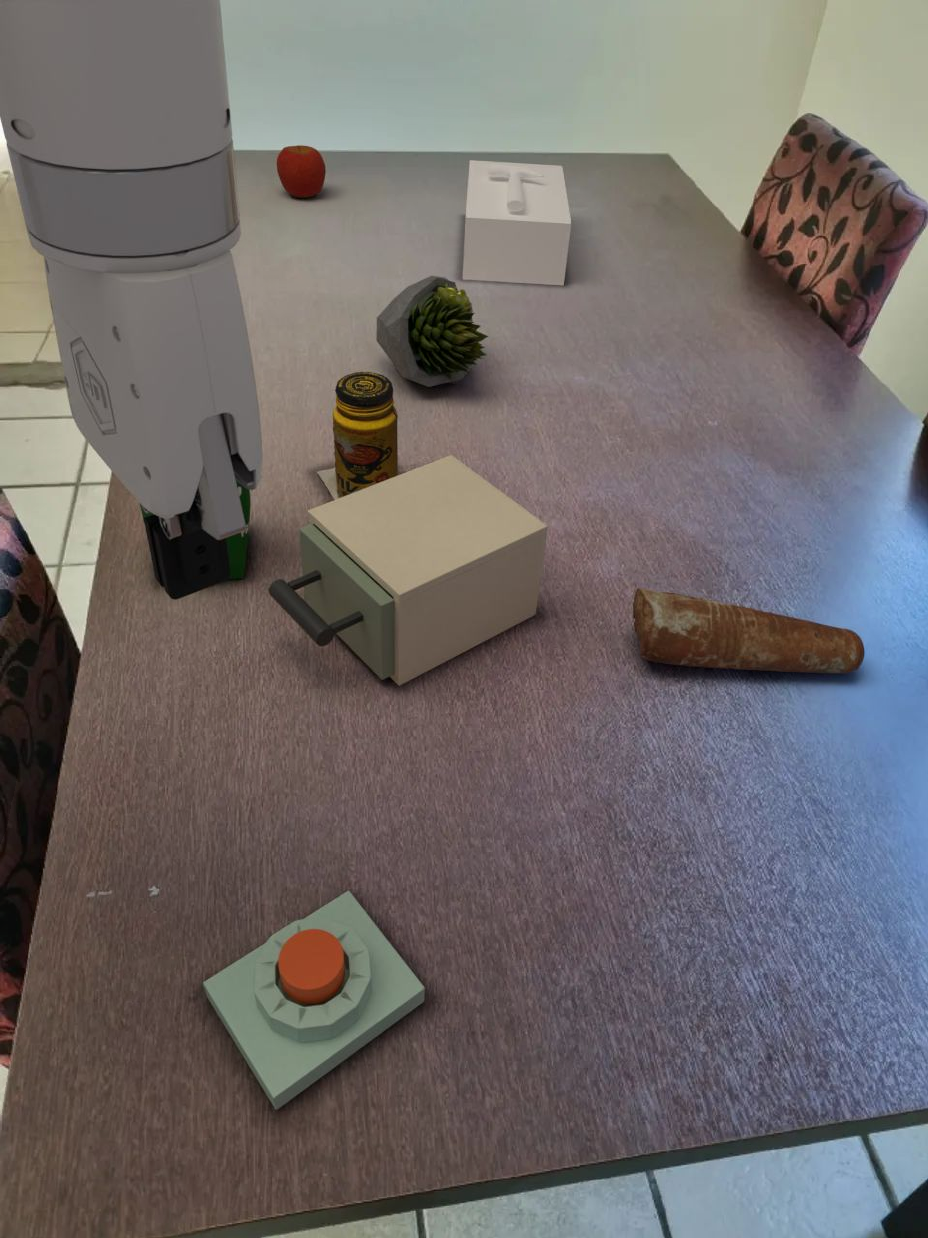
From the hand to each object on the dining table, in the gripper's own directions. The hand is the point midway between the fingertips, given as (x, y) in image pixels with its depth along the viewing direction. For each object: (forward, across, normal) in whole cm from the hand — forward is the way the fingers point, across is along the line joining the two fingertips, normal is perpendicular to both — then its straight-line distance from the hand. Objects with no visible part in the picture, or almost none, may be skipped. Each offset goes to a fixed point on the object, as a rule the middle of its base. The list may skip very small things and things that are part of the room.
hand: (194, 580), depth 46 cm
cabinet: (+24, -13, +25) cm, 37 cm away
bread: (+23, +7, +43) cm, 49 cm away
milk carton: (+24, -30, +12) cm, 40 cm away
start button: (+21, +11, -1) cm, 24 cm away
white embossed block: (+24, -72, +84) cm, 113 cm away
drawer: (+23, -13, +21) cm, 33 cm away
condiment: (+24, -31, +30) cm, 50 cm away
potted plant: (+24, -45, +50) cm, 72 cm away
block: (+24, +11, -1) cm, 26 cm away
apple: (+24, -108, +68) cm, 130 cm away
